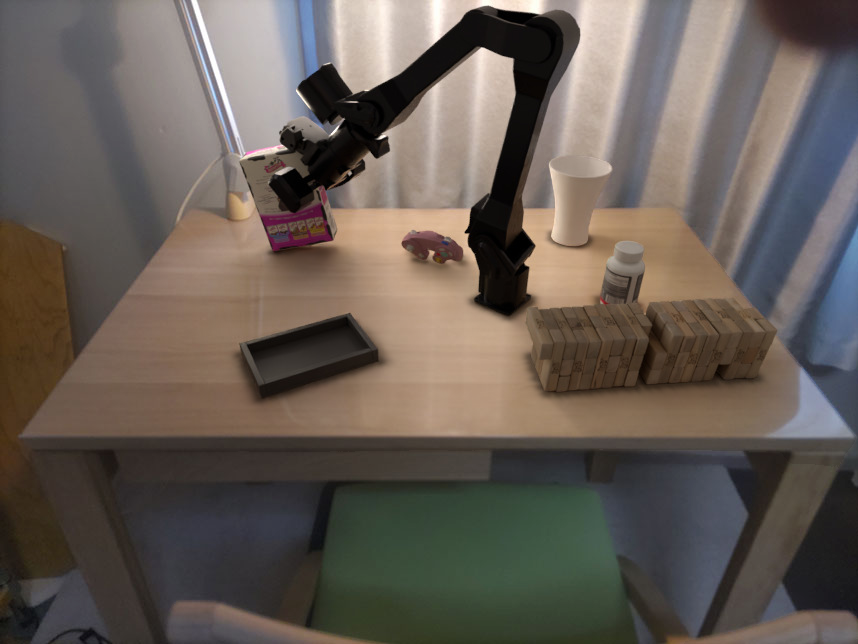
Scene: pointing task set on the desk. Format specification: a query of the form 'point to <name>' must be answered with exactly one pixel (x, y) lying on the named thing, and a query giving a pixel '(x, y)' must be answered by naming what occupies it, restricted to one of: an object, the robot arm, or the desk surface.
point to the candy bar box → (279, 226)
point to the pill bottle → (623, 274)
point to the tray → (307, 354)
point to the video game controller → (432, 246)
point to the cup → (576, 195)
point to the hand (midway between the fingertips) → (294, 200)
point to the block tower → (647, 343)
